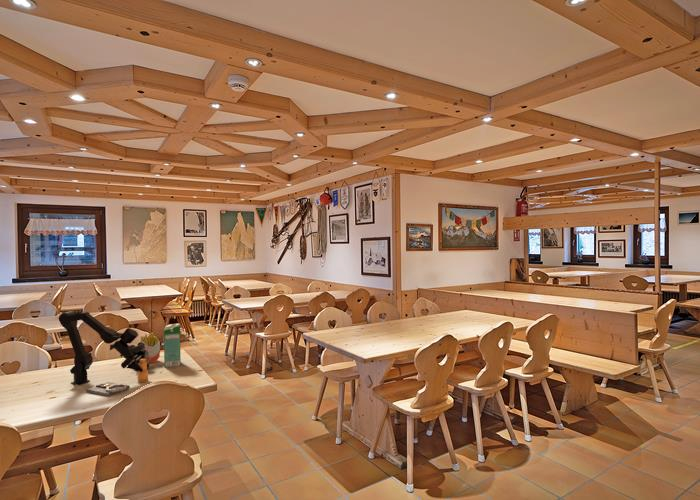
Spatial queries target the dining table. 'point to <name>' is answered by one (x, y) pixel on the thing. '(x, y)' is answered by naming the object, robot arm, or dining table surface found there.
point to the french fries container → (151, 347)
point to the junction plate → (108, 389)
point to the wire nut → (144, 374)
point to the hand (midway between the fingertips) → (145, 369)
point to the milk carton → (172, 345)
